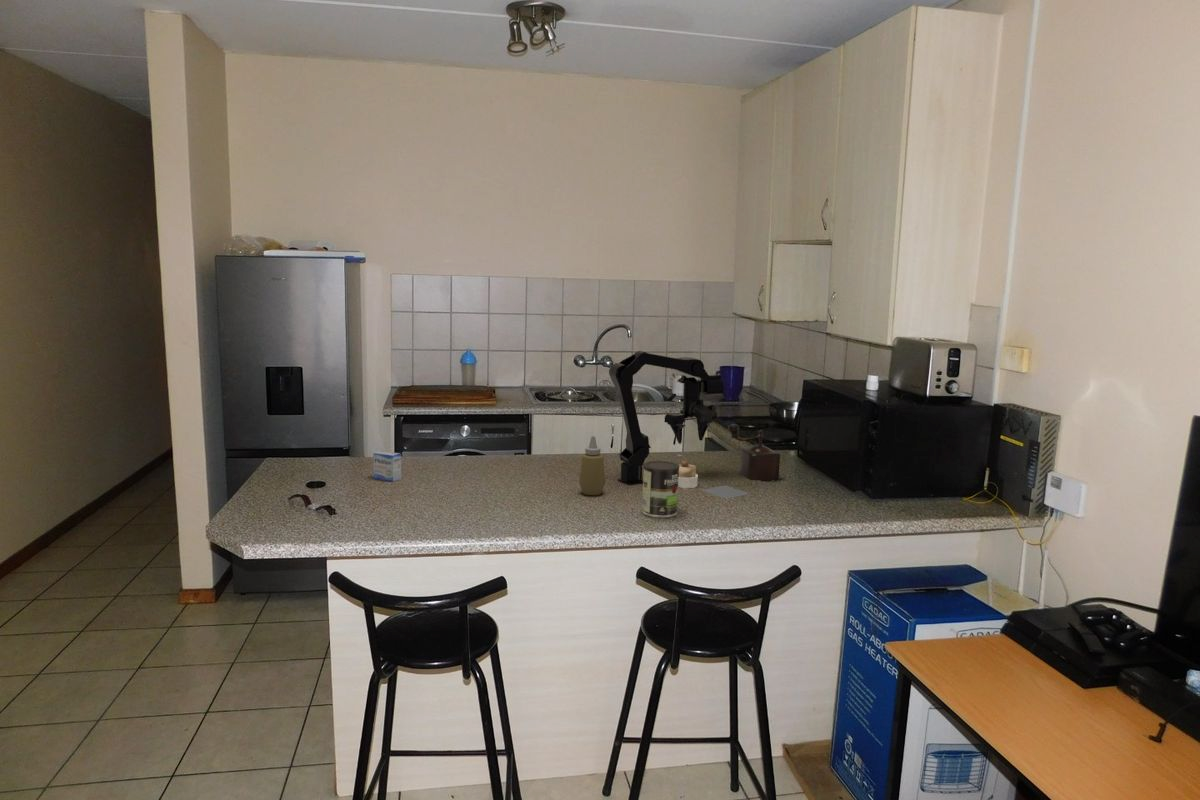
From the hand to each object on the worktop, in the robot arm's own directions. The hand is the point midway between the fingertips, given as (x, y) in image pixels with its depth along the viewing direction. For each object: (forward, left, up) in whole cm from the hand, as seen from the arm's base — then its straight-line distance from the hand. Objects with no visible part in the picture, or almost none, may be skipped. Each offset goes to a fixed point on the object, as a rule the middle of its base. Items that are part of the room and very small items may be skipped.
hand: (690, 441), depth 266 cm
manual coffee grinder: (+18, -11, -13) cm, 25 cm away
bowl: (-9, -7, -12) cm, 17 cm away
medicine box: (-85, +52, -13) cm, 100 cm away
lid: (-9, -7, -8) cm, 14 cm away
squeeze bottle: (-39, +3, -13) cm, 41 cm away
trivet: (-4, -20, -12) cm, 24 cm away
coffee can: (-34, -23, -13) cm, 43 cm away
